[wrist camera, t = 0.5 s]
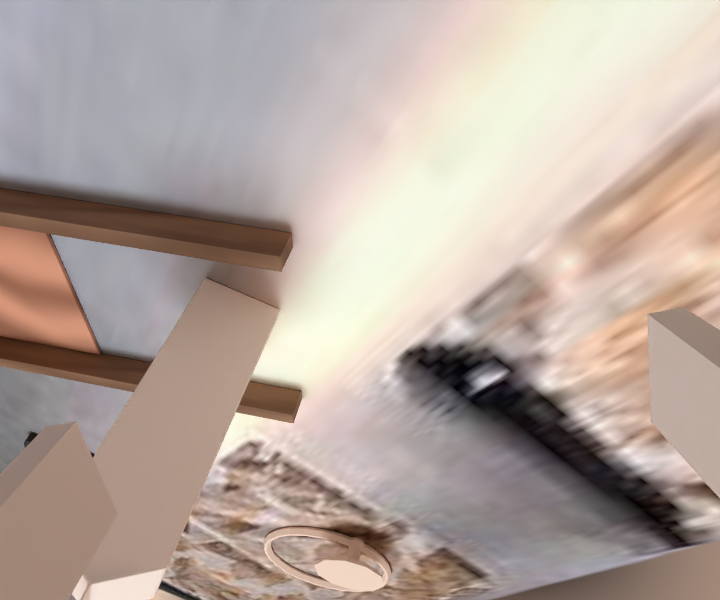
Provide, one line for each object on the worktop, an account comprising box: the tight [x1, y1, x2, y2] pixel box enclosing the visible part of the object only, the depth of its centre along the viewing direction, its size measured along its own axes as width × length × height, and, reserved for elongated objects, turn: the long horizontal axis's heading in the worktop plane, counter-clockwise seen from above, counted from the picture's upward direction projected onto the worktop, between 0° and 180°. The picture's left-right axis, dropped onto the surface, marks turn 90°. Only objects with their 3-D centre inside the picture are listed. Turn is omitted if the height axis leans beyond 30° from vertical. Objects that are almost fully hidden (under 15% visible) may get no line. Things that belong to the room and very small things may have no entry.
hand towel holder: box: [264, 527, 392, 592], centre depth 68 cm, size 17×4×21 cm
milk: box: [72, 278, 280, 600], centre depth 34 cm, size 6×6×22 cm
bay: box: [0, 188, 302, 423], centre depth 42 cm, size 18×32×3 cm, turn 87°
